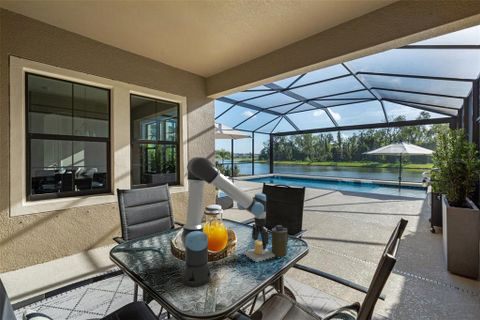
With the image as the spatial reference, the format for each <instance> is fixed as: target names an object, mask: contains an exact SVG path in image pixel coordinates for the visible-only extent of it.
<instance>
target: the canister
mask: <svg viewBox="0 0 480 320" xmlns="http://www.w3.org/2000/svg"><path fill="white" fill-rule="evenodd" d="M288 232H289V229H288V228H287V227H284V226H283V225H281V224H278V225H275V226H274V227H273V228H271V251H272V253H273V254H275V257H284V256H286V255H287V254H288V251H287V250H288V241H289V239H288V238H289V237H288V236H289V235H288V234H289V233H288ZM287 256H288V255H287ZM275 257H274V258H275Z"/></svg>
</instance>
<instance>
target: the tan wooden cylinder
mask: <svg viewBox="0 0 480 320" xmlns="http://www.w3.org/2000/svg"><path fill="white" fill-rule="evenodd" d="M253 245H254V244H253ZM261 247H262V240H261V241H260V240H258V241H257V242H255V245H254V247H253V249H254V253H256V254H260V255H262V254H261Z"/></svg>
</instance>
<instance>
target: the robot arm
mask: <svg viewBox="0 0 480 320" xmlns="http://www.w3.org/2000/svg"><path fill="white" fill-rule="evenodd" d="M186 169H187V178H186V180H187V181H188V183H189V184H188V185H189V187H188V195H187V196H188V199H187V200H188V201H187V210H186V223H184V224H183V227H182V229H183V230H182V233H181V236H180V237H181V243H182V245H183V248H184V250H185V262H184V264H185V265H184V267H183V272H182V274H181V282H182V284H184V285H185V286H188V287H200V286H203V285H206V284H208V283H209V282H210V281H211V279H212V276H211V275H212V273H211V270H210V266H209V262H208V261H209V256H208V255H209V251H208V250H209V236H208V234H206V233H205V232H204V225H203V224H202V218H203V217H202V216H203V203H204V191H205V183H206V184H209V185H213V186H215V187H216V188H217V189H218V190H220V191H221V192H223V193H224V194H225V195H226V196H228V197H229V198H230V199H231V200H233V201H234V202H236V206H237V209H238V210H239V211H246V212H249V213H250V214H252V215H253V216H254V221H253V223H252V231H251V238H252V239H253V245H255V242H257V241H259V235H260V239H261V241H262V247H261V254H262V255H263V254H265V249H267V245H269V236H268V235H269V233H268V232H269V229H268V228H266V225H265V224H266V221H267V218H266V217H267V195H266V194H264V193H254V196H253V197H252V196H251V195H250V194H248V193H247V192H245V190H243V189H242V188H240V187H239V186H238V185H237V184H235V183H234V182H233V181H232V180H230V179H229V178H228V177H226V176H225V175H224V174H223V173H221V170H220V169H219V168H218V167H217V166H216V165H215V164H213V163H212V162H211V161H210V160H209V158H208V159H207V158H206V157H200V156H196V157H193V158H191V159H189V161H188V163H187V165H186Z"/></svg>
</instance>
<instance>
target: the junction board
mask: <svg viewBox="0 0 480 320" xmlns="http://www.w3.org/2000/svg"><path fill="white" fill-rule="evenodd" d="M243 255H244V256H245V255H246V256H245V257H246V258H248V257H249V258H248V259H250V260H251V259H252V260H251V261H253V262H254V261H255V262H254V263H256V262H258V263H260V262H259V261H261V262H264V261H267V260H266V259H268V260H270V259H269V258H271V259H273V258H272V257H274V258H275V254H273V253H272V250H270V249H269V248H266V249H265V254H263V255H260V254H256V253H254V248H253V249H252V248H251V249H249V250H245V251H243ZM263 260H264V261H263Z"/></svg>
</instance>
